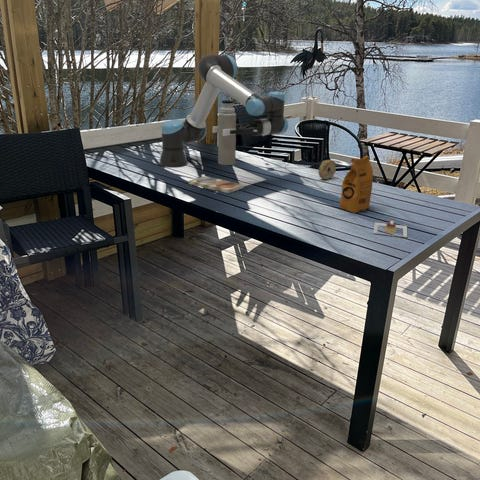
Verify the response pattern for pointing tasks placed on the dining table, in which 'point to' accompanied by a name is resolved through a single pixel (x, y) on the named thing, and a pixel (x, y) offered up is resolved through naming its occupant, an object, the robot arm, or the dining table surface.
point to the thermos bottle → (227, 142)
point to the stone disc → (327, 169)
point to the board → (216, 184)
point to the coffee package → (357, 186)
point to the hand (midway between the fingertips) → (218, 131)
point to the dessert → (390, 228)
